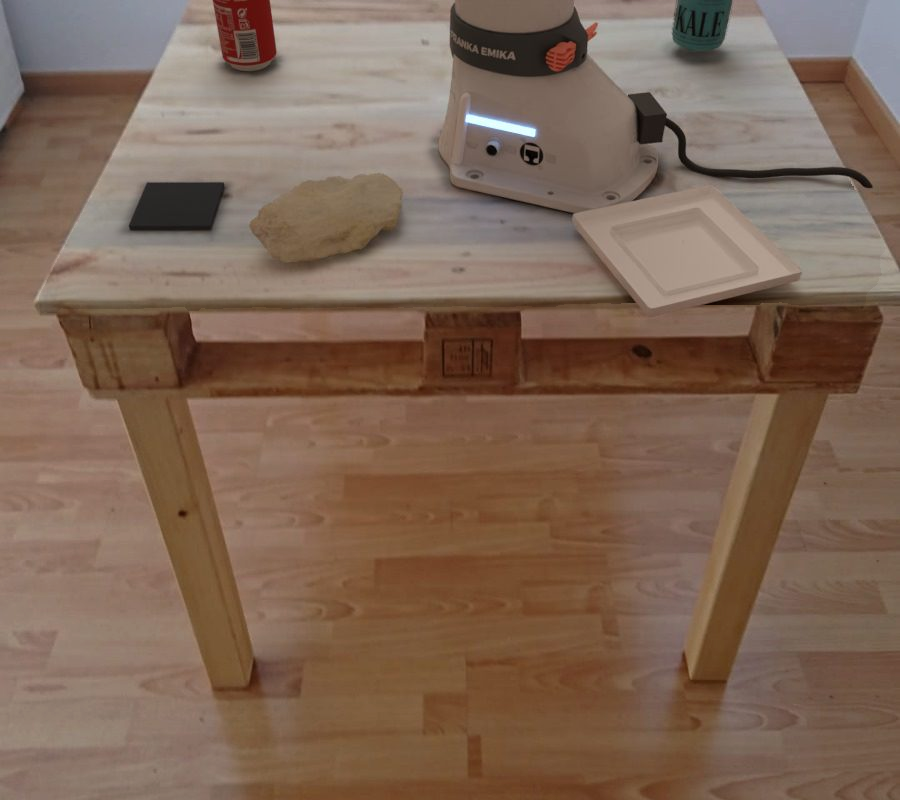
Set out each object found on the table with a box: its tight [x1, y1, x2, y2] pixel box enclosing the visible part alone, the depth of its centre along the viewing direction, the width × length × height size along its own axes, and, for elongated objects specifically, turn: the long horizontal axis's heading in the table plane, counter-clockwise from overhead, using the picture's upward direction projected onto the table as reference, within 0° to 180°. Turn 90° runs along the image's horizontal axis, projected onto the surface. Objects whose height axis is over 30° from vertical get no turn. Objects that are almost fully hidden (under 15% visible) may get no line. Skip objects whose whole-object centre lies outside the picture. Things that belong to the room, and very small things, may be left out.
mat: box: [128, 181, 226, 231], centre depth 89 cm, size 8×8×1 cm
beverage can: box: [212, 0, 277, 72], centre depth 107 cm, size 6×6×12 cm
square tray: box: [571, 184, 803, 318], centre depth 83 cm, size 14×2×14 cm
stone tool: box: [249, 172, 404, 264], centre depth 85 cm, size 8×4×15 cm
